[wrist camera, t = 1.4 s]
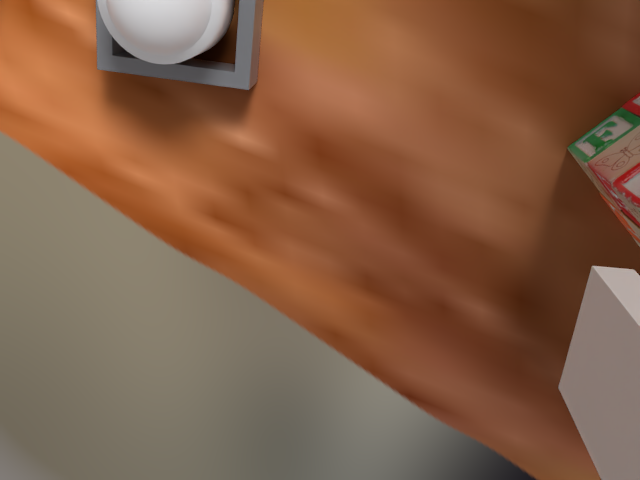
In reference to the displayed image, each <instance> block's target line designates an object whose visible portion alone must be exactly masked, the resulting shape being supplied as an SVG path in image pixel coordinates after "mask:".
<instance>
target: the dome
mask: <svg viewBox="0 0 640 480" xmlns="http://www.w3.org/2000/svg"><path fill="white" fill-rule="evenodd" d="M97 2H98V7H99V11H100V14H101V17H102V19H103V22H104V24H105V26H106V28H107V29H108V31H109V33H110V34H111V35H112V37H113V38H114V39H115V40H116V41H117V43H118V44H119V45H120V46H121V47H123V48H124V49H125V50H126V51H127V52H129V53H130V54H132V55H134V56H135V57H137V58H139V59H141V60H144V61H147V62H150V63H155V64H175V63H179V62H182V61H185V60H188V59H190V58H192V57H194V56H196V55H199V54H201V53H203V52H205V51H207V50H209V49H211V48H212V47H213V46H215V45H216V44H217V43H218V42H219V41H220V40H221V39H222V38H223V36H224V35H225V34H226V32H227V30H228V28H229V26H230V24H231V21H232V18H233V14H234V7H235V0H97Z"/></svg>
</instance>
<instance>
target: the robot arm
mask: <svg viewBox="0 0 640 480" xmlns="http://www.w3.org/2000/svg"><path fill="white" fill-rule="evenodd" d="M558 388H559V390H560V392H561V395H562V397H563V399H564V401H565V403H566V405H567V407H568V410H569V412H570V414H571V416H572V418H573V420H574V422H575V424H576V427H577V429H578V431H579V433H580V435H581V437H582V439H583V442H584V444H585V446H586V448H587V450H588V452H589V454H590V457H591V459H592V461H593V463H594V465H595V467H596V469H597V471H598V474H599V476H600V478H601V480H640V275H639V274H638V273H637V272H636V271H635V270H634V269H623V268H612V267H601V266H592V267H591V271H590V275H589V278H588V282H587V286H586V289H585V293H584V296H583V300H582V304H581V307H580V311H579V315H578V318H577V322H576V325H575V329H574V333H573V336H572V340H571V344H570V347H569V351H568V354H567V358H566V362H565V365H564V369H563V373H562V376H561V380H560V383H559V387H558Z"/></svg>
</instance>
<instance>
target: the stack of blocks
mask: <svg viewBox="0 0 640 480" xmlns="http://www.w3.org/2000/svg"><path fill="white" fill-rule="evenodd" d="M568 150H569V152H570V153H571V154H572V156H573V157H574V158H575V160H576V161H577V162H578V163H579V165H580V166H581V167H582V169H583V170H584V171H585V173H586V174H587V175H588V177H589V178H590V179H591V181H592V182H593V183H594V185H595V186H596V187H597V189H598V190H599V194H600V195H601V197H602V198H603V199H604V201H605V202H606V203H607V205H608V206H609V207H610V209H611V210H612V211H613V212H614V214H615V215H616V216H617V218H618V219H619V220H620V222H621V223H622V224H623V225H624V227H625V228H626V229H627V231H628V232H629V233H630V234H631V236H632V237H633V239H634V240H635V242H636V243H637V244H638V246H639V247H640V93H638V94H637V95H636V96H634V97H633V98H632V99H631V100H629V101H628V102H626V103H625V104H624V105H623V106H622V107H621V108H620V109H619V110H617V111H616V112H615V113H613V114H612V115H610V116H609V117H608V118H606V119H605V120H604V121H602V122H601V123H600V124H598V125H597V126H596V127H594V128H593V129H591V130H590V131H589V132H587V133H586V134H585V135H583V136H582V137H581V138H579V139H578V140H577V141H575V142H574V143H572V144H571V145H570V146H568Z"/></svg>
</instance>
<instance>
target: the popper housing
mask: <svg viewBox="0 0 640 480" xmlns="http://www.w3.org/2000/svg"><path fill="white" fill-rule="evenodd" d="M263 2H264V0H239V14H238V29H237V45H236V60H235V64H230V63H223V62H215V61H208V60H200V59H193V58H190V59H188V60H185V61H182V62H179V63H175V64H155V63H150V62H147V61H144V60H141V59H139V58H137V57H135V56H134V55H132V54H130V53H129V52H127V51H126V50H125V49H124V48H123V47H121V46H120V45H119V44H118V43H117V41H116V40H115V39H114V38H113V37H112V35H111V34H110V33H109V31H108V29H107V28H106V26H105V24H104V22H103V19H102V17H101V14H100V11H99V7H98V2H97V0H96V30H97V69H98V70H105V71H113V72H120V73H128V74H135V75H142V76H150V77H157V78H164V79H172V80H179V81H186V82H194V83H201V84H209V85H216V86H223V87H231V88H238V89H245V90H249V89H250V88H251V87H252V86H253V85H254V84H255V83H256V82H257V77H258V64H259V52H260V39H261V27H262V14H263Z"/></svg>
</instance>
